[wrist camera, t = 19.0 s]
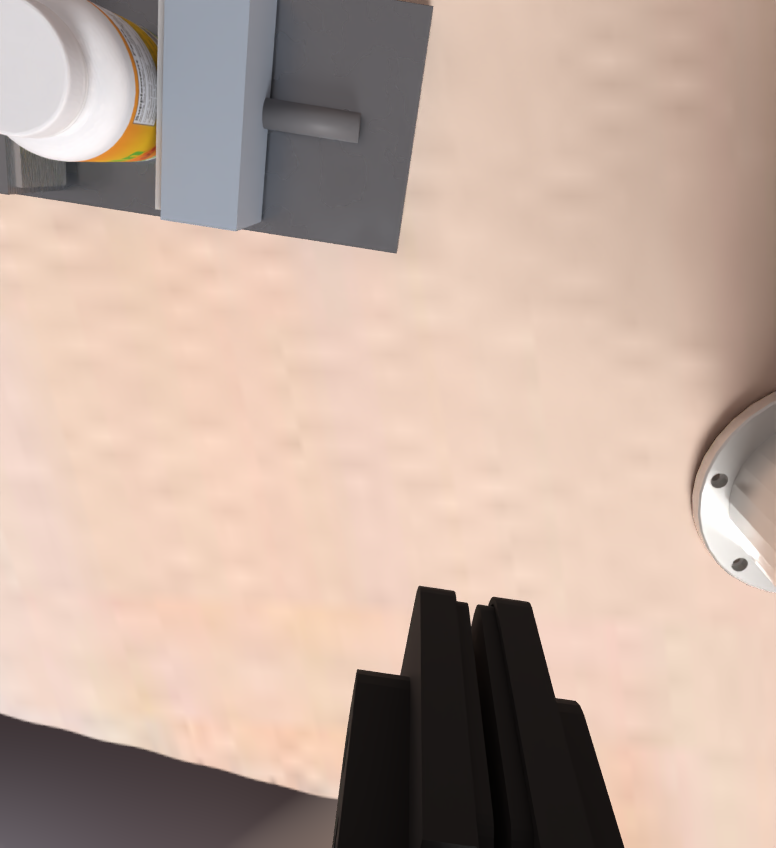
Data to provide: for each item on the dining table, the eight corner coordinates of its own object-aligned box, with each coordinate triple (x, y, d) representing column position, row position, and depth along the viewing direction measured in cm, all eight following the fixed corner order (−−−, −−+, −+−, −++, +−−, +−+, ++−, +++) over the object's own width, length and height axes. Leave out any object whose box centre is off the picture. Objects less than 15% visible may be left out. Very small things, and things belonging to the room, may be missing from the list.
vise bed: (432, 14, 29) (436, -23, 23) (397, 249, 32) (393, 267, 27) (15, -54, 28) (-83, -108, 23) (28, 191, 32) (-54, 197, 26)
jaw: (375, 9, 27) (367, -19, 23) (347, 235, 30) (336, 247, 26) (194, -20, 27) (153, -53, 23) (187, 210, 30) (150, 217, 26)
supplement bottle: (75, 155, 30) (-73, 152, 21) (64, 18, 28) (-105, -52, 19) (194, 167, 30) (97, 170, 21) (192, 30, 28) (84, -33, 19)
